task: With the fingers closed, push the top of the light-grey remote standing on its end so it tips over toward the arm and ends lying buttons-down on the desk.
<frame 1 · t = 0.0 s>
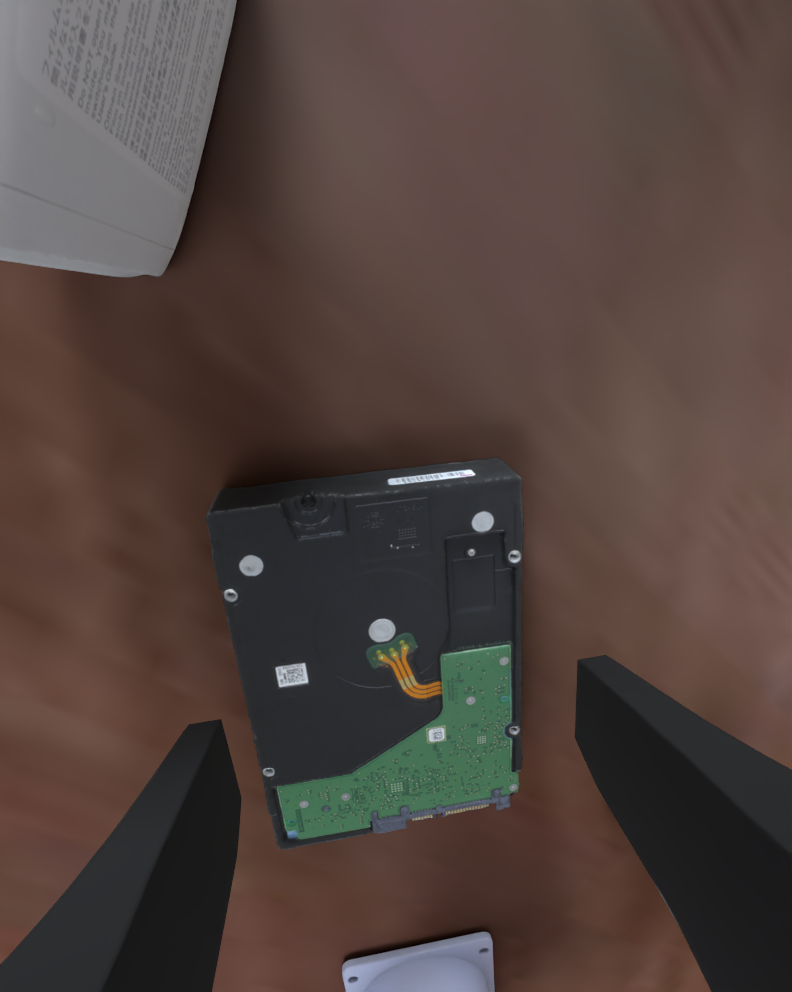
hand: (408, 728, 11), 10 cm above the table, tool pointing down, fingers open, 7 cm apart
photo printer: (143, 85, 15), on the table
disk drive: (379, 637, 22), on the table
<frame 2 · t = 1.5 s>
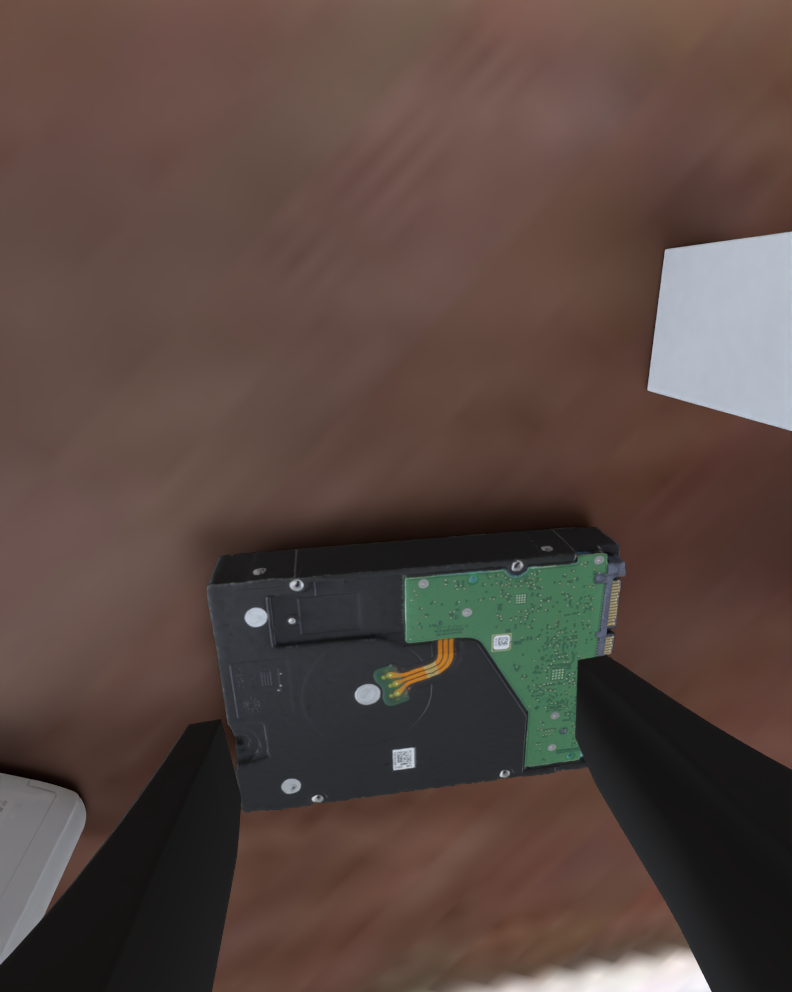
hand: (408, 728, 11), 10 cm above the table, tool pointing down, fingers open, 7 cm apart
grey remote: (683, 321, 19), on the table
disk drive: (415, 643, 23), on the table
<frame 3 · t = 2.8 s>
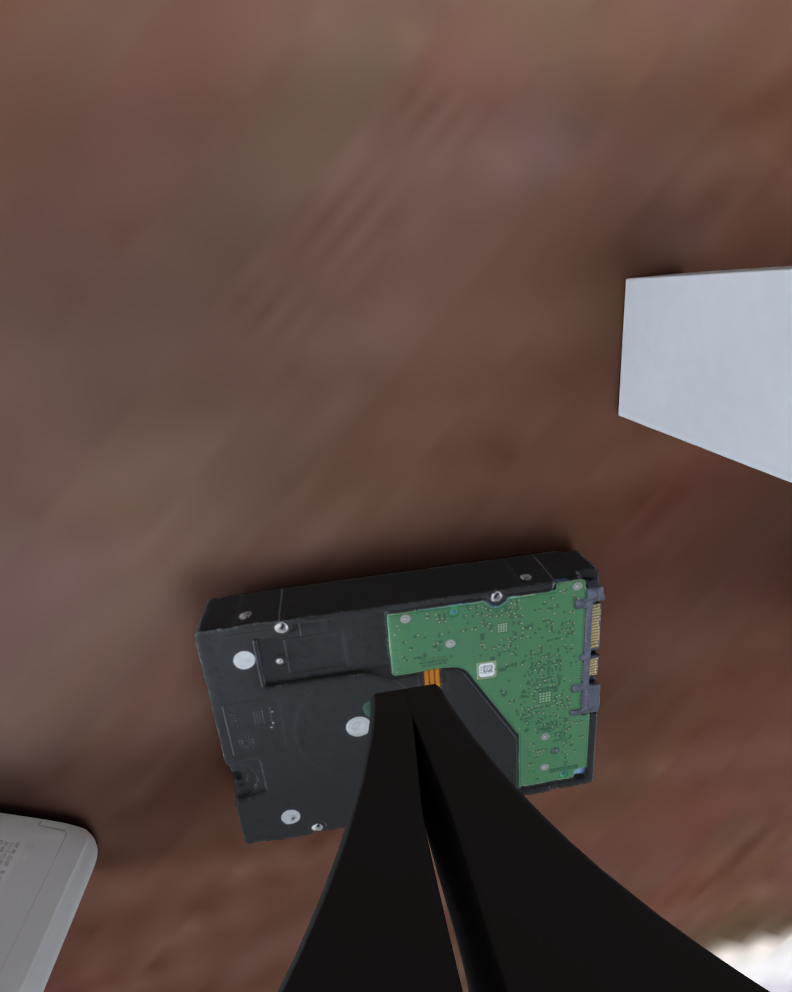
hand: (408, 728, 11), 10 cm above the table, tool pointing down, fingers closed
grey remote: (650, 346, 20), on the table
disk drive: (405, 670, 23), on the table
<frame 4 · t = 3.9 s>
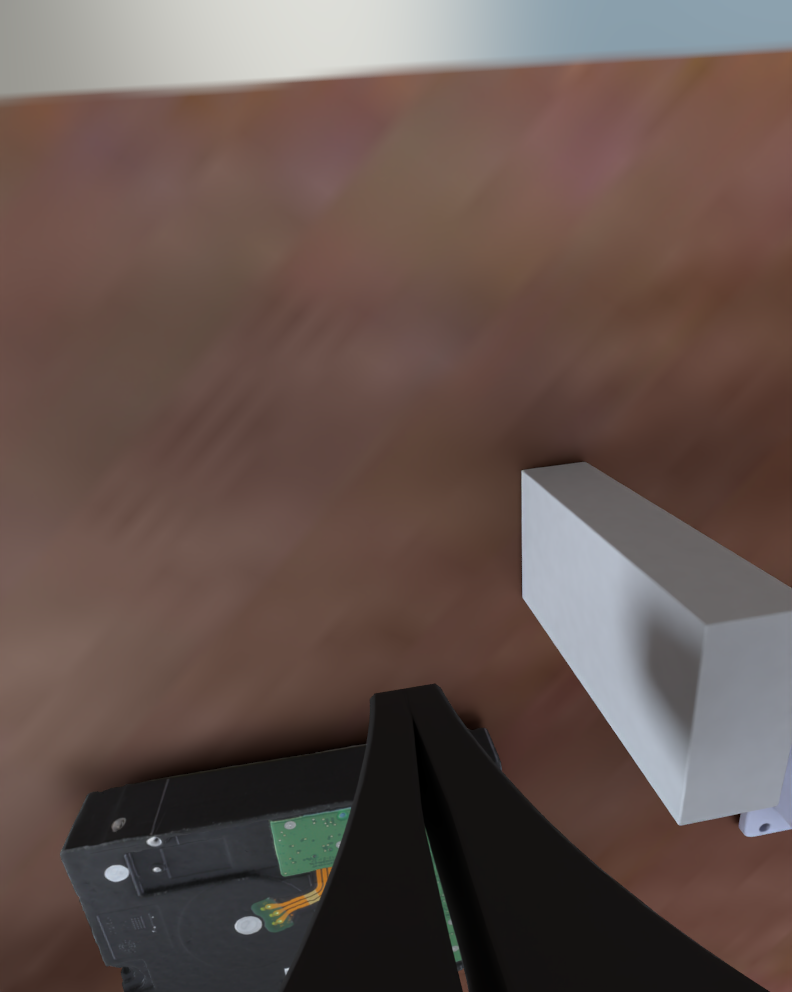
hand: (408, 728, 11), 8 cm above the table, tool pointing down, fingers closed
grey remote: (552, 532, 19), on the table
disk drive: (312, 840, 22), on the table
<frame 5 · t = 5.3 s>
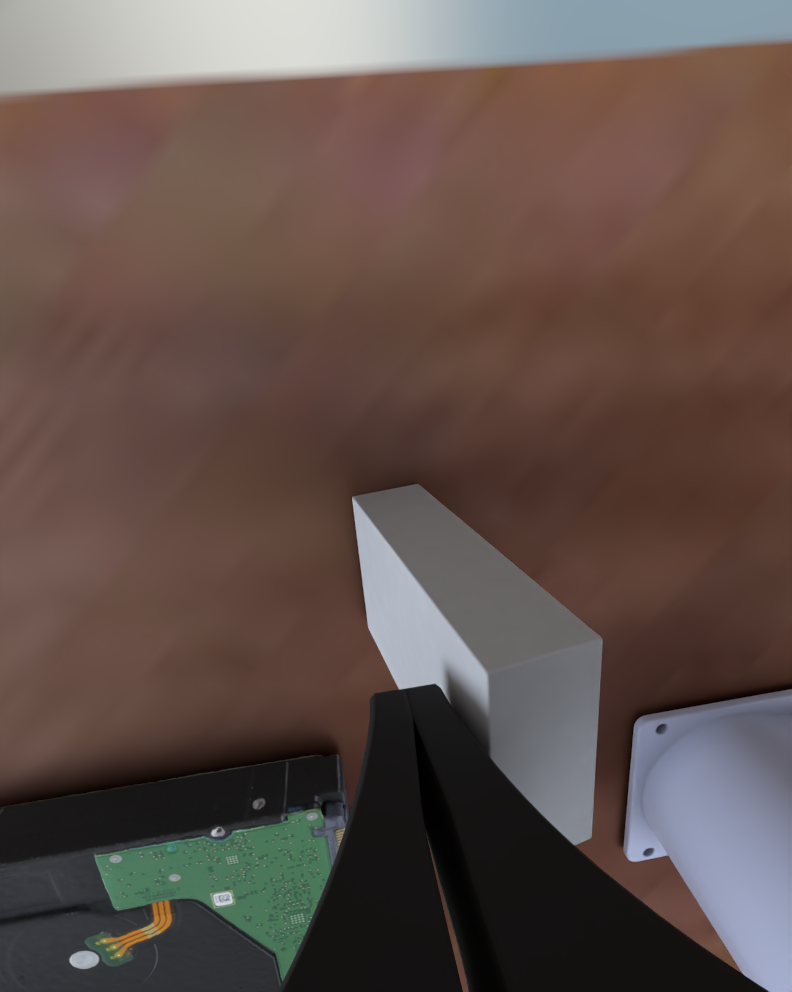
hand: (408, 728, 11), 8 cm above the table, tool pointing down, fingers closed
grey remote: (392, 557, 18), on the table, tilted 10°
disk drive: (171, 868, 22), on the table
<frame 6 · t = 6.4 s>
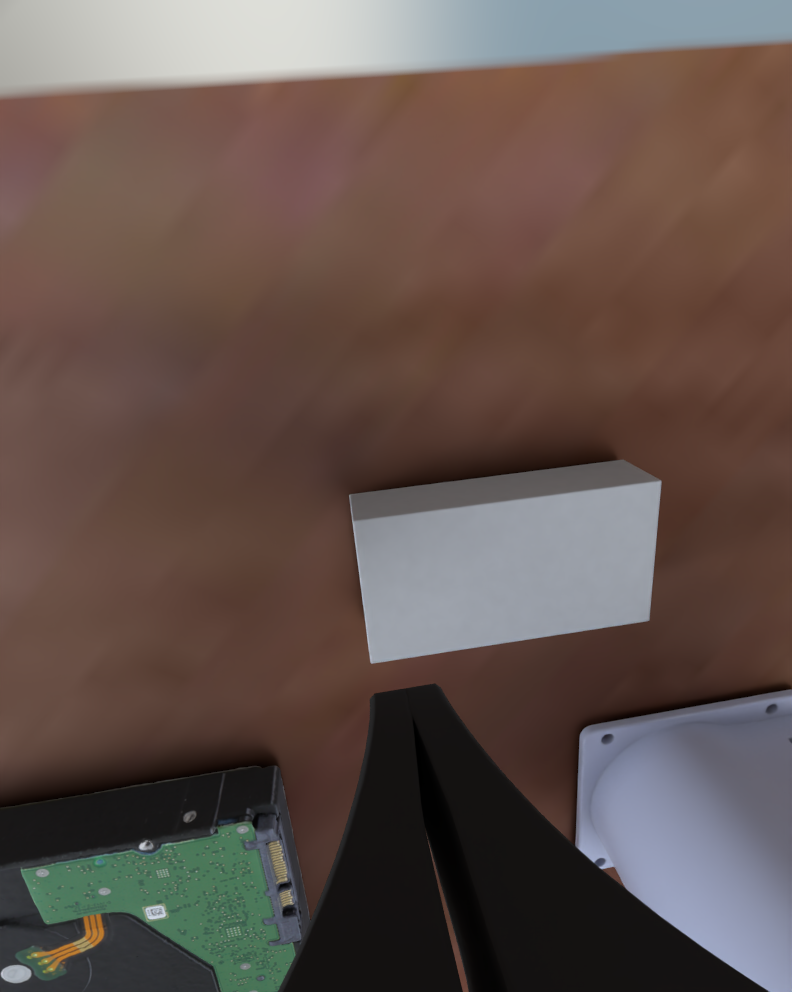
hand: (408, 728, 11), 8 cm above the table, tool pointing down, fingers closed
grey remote: (359, 578, 17), point 1 cm above the table, tilted 89°
disk drive: (112, 880, 21), on the table
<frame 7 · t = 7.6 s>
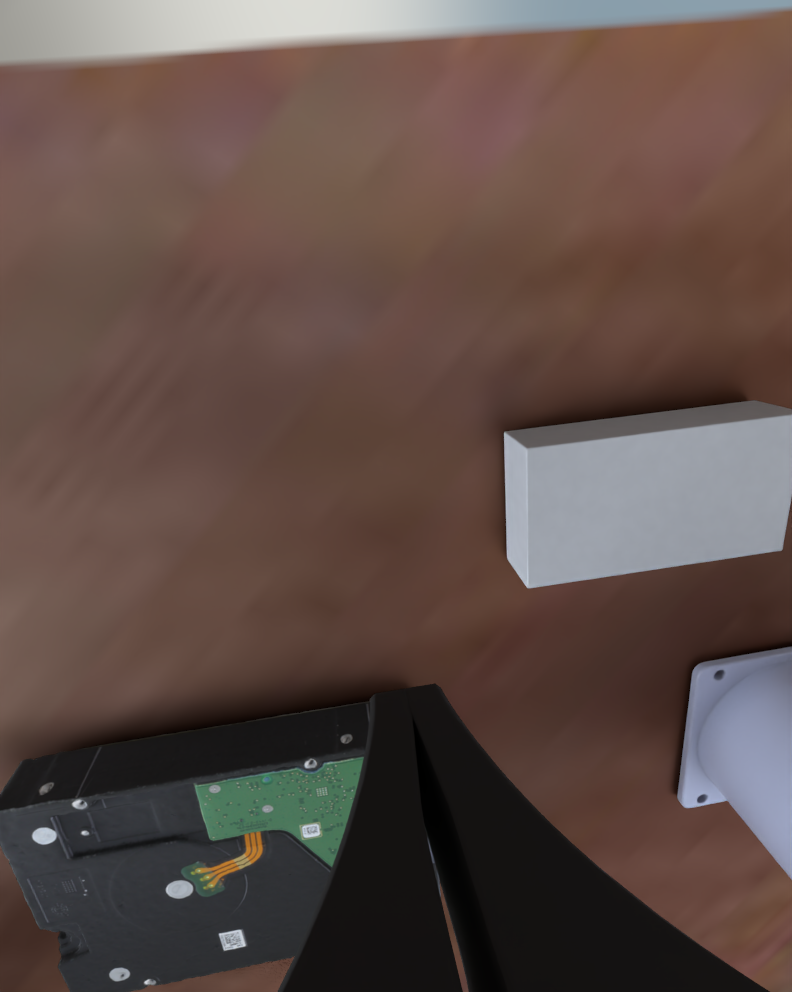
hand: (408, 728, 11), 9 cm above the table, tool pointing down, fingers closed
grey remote: (515, 509, 18), point 1 cm above the table, tilted 89°
disk drive: (250, 810, 23), on the table
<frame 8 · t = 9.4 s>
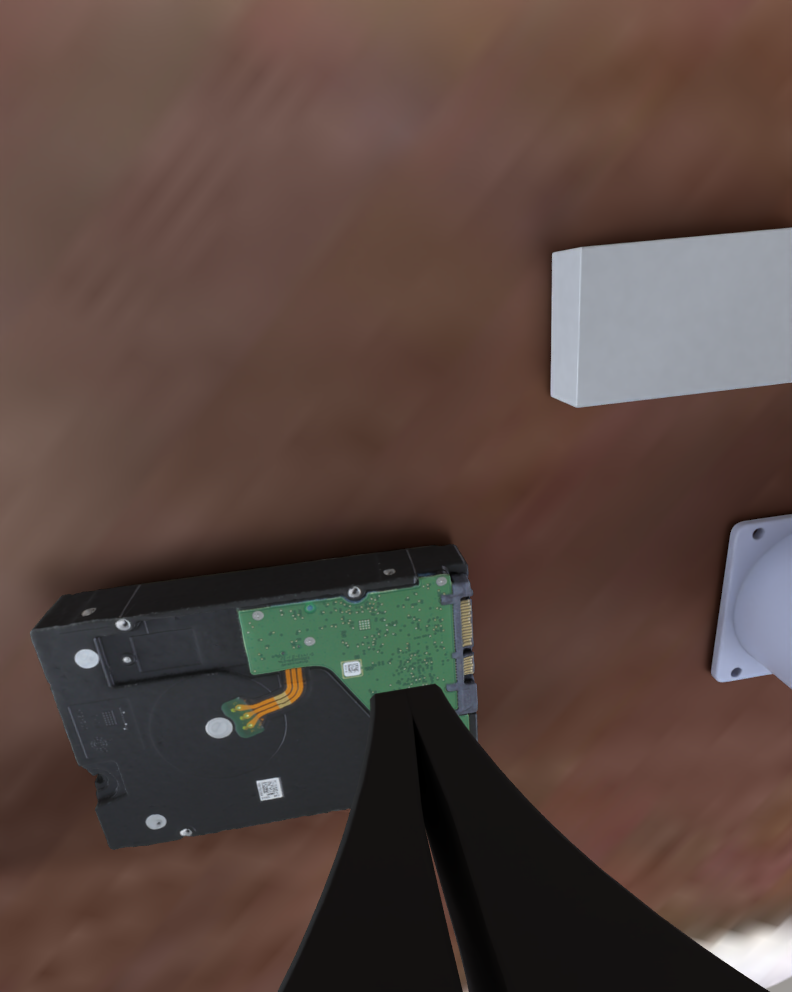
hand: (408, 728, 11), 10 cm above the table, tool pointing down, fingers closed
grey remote: (563, 329, 18), point 1 cm above the table, tilted 89°
disk drive: (285, 669, 22), on the table
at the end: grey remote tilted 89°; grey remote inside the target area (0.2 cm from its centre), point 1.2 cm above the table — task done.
